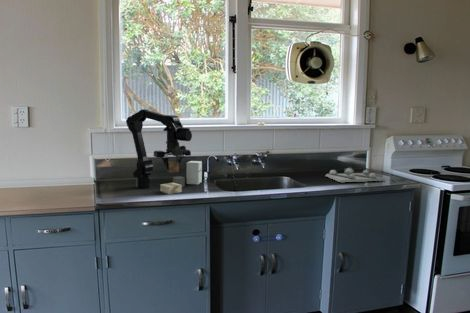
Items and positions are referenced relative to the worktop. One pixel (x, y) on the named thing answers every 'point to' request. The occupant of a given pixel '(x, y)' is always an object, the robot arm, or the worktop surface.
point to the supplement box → (194, 172)
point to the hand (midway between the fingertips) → (172, 169)
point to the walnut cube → (173, 166)
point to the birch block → (171, 188)
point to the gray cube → (179, 180)
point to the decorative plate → (353, 176)
